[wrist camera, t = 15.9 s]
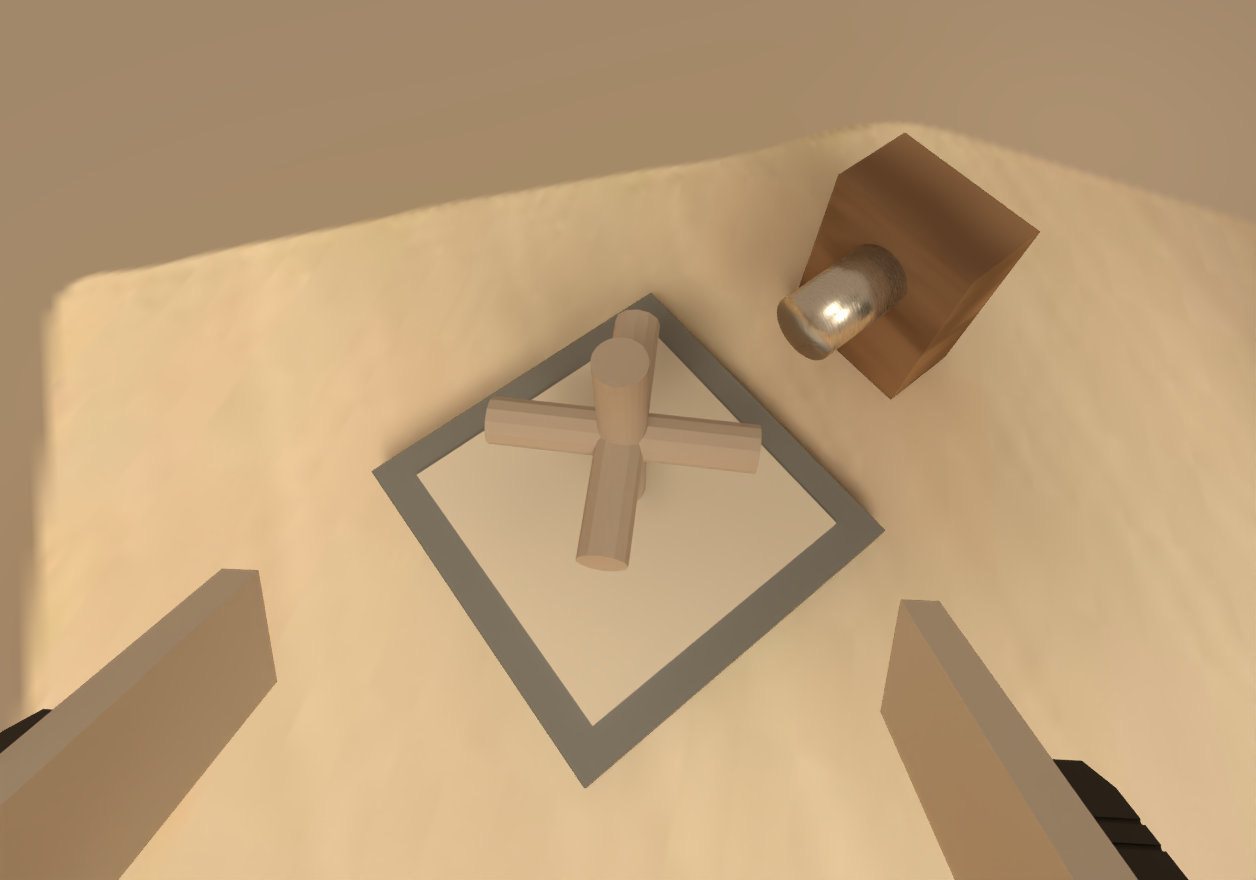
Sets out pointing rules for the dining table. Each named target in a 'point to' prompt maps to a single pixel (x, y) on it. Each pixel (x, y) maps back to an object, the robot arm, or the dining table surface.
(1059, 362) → the dining table surface
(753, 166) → the dining table surface
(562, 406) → the pipe connector
